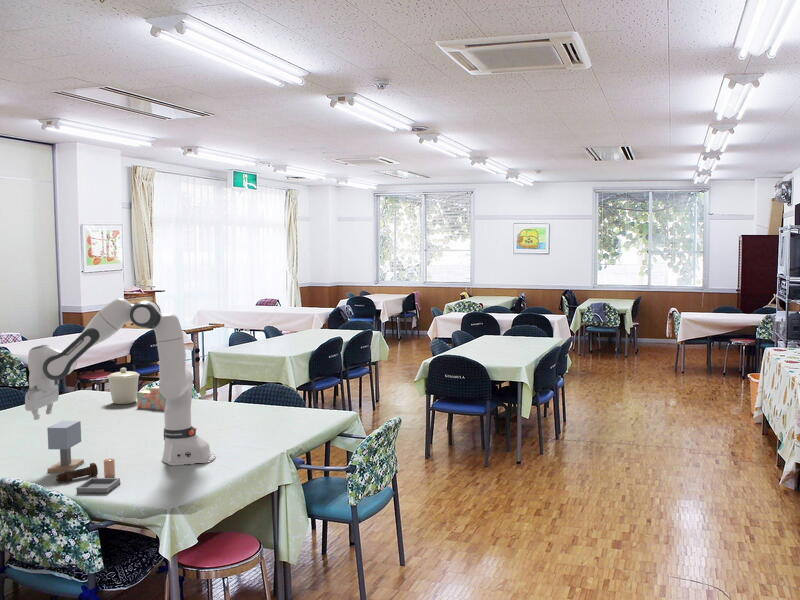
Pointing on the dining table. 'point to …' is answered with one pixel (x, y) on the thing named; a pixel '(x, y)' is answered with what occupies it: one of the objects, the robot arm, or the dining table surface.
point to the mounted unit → (64, 444)
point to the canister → (123, 386)
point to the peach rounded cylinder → (109, 468)
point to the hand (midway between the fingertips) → (42, 416)
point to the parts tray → (98, 486)
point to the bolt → (77, 473)
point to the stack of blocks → (151, 399)
